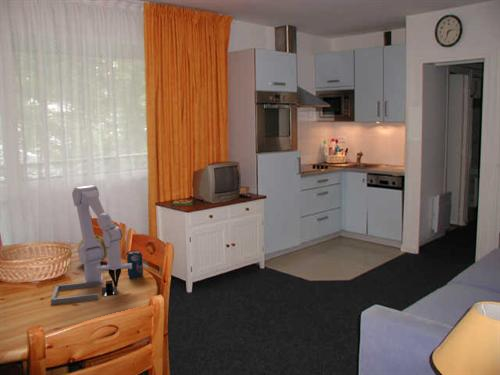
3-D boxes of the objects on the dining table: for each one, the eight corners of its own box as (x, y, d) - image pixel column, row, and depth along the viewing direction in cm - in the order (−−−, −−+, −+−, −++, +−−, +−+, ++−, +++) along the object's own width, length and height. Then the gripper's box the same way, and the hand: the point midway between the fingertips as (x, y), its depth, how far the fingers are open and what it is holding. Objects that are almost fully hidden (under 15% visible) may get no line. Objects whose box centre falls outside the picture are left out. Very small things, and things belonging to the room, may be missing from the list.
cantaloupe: (79, 260, 255) (77, 232, 253) (108, 257, 259) (106, 230, 257) (78, 269, 241) (76, 239, 239) (109, 265, 245) (107, 236, 243)
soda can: (141, 279, 225) (139, 254, 223) (126, 279, 225) (124, 254, 223) (144, 274, 232) (143, 249, 230) (130, 274, 232) (128, 249, 230)
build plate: (118, 296, 206) (117, 286, 205) (100, 298, 204) (99, 288, 203) (117, 286, 218) (117, 276, 217) (100, 288, 216) (100, 278, 215)
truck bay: (56, 289, 214) (56, 285, 214) (99, 284, 219) (99, 280, 218) (51, 304, 197) (50, 299, 197) (98, 299, 202) (97, 294, 202)
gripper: (95, 260, 204) (98, 290, 206) (131, 256, 208) (133, 287, 210) (96, 255, 211) (98, 285, 213) (130, 252, 214) (132, 281, 217)
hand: (115, 285), depth 212 cm, fingers closed
